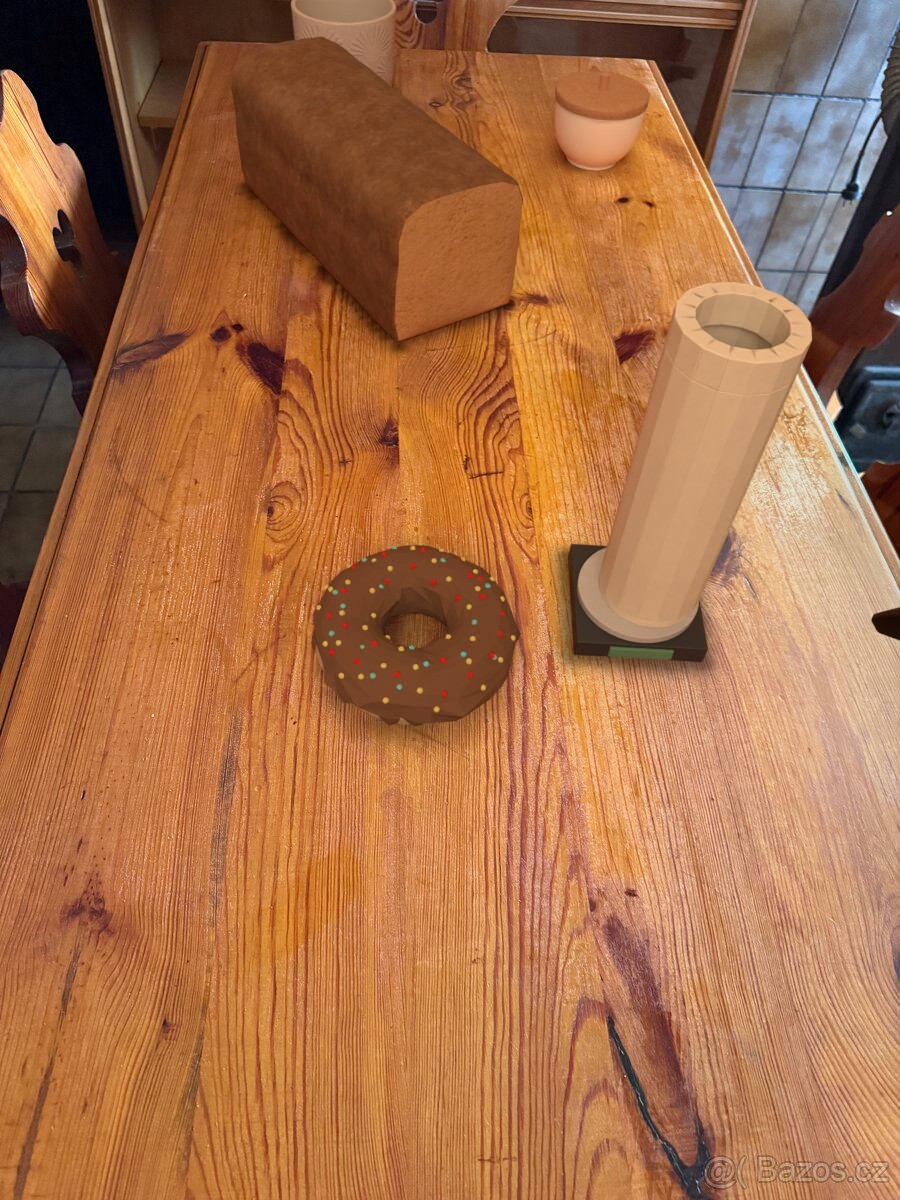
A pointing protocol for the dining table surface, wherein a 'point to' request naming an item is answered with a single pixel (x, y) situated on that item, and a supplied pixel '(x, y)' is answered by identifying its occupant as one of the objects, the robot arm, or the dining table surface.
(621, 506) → the canister
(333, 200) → the bread
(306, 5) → the planter
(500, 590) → the donut
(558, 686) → the dining table surface
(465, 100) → the dining table surface
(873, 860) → the dining table surface
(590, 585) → the scale
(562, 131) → the trinket box
